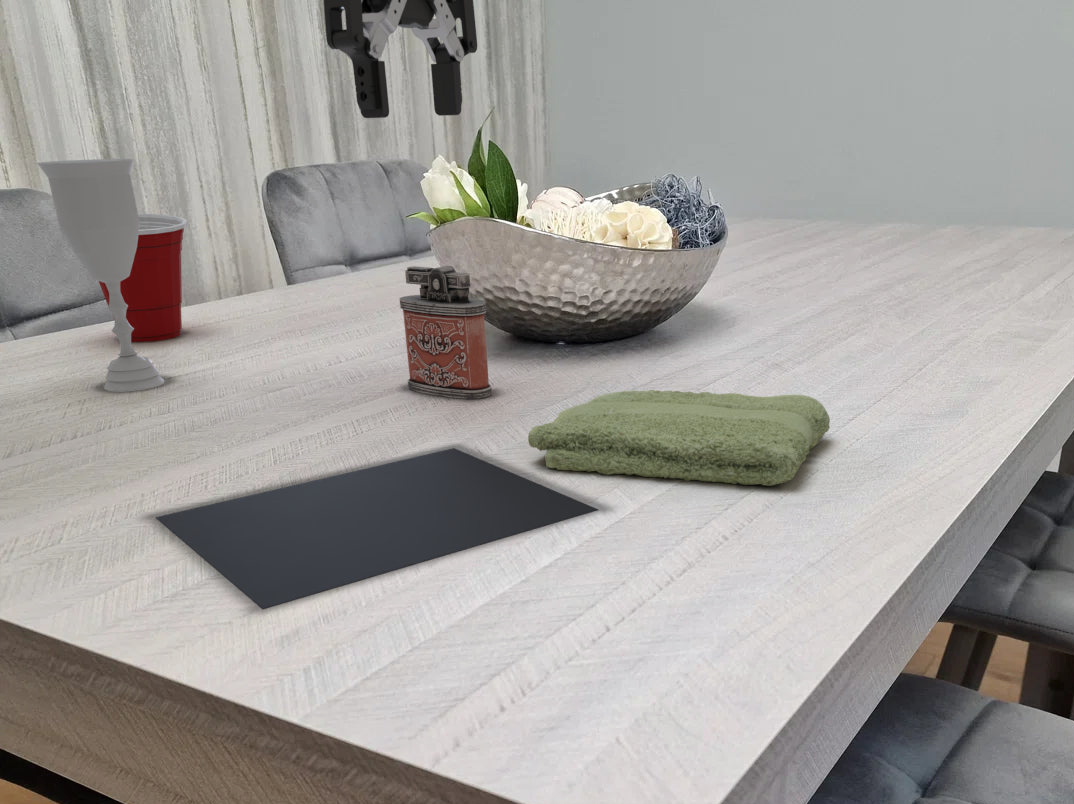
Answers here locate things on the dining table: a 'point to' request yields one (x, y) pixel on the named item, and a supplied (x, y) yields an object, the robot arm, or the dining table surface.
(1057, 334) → the dining table surface
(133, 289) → the plastic cup
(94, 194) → the chalice
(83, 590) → the dining table surface
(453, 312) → the lighter
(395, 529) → the mat
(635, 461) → the washcloth
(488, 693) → the dining table surface
